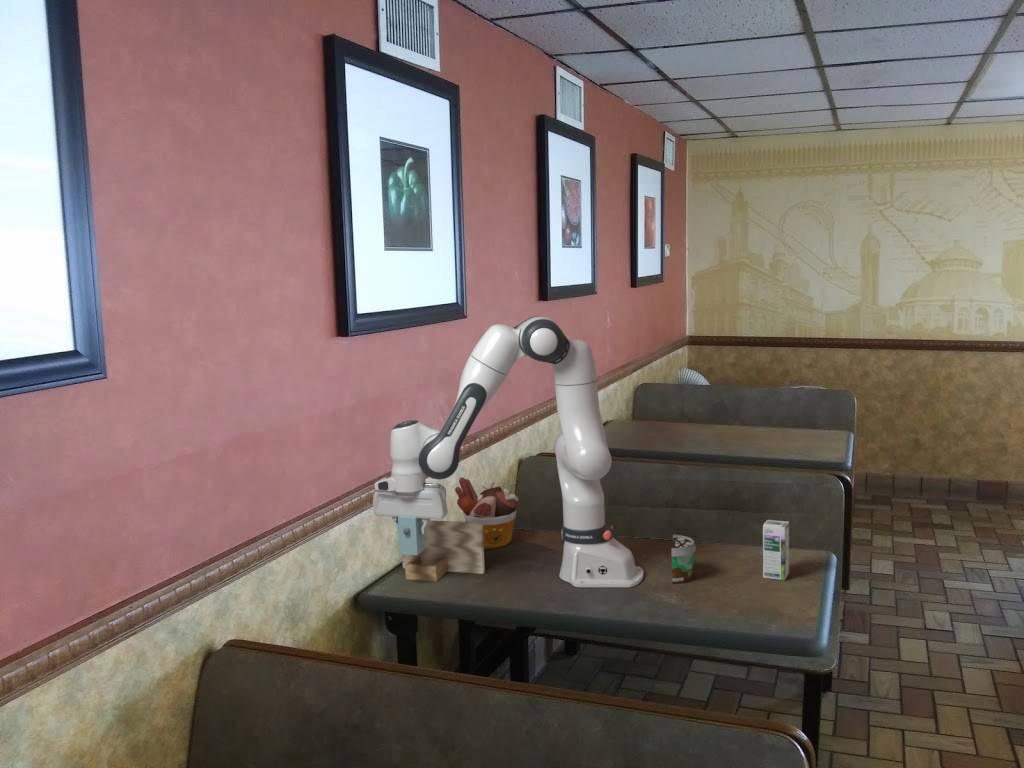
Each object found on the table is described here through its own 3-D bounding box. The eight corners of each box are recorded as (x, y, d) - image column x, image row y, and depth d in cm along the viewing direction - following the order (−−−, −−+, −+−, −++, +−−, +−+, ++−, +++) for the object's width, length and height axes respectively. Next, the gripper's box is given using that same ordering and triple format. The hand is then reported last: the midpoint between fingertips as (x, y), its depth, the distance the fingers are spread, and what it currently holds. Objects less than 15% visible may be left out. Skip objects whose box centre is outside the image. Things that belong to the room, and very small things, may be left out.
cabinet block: (424, 549, 250) (422, 513, 248) (416, 556, 244) (414, 519, 243) (407, 548, 251) (405, 512, 250) (398, 555, 246) (396, 518, 244)
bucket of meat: (531, 538, 286) (528, 475, 283) (506, 555, 271) (503, 488, 268) (474, 532, 295) (471, 470, 292) (447, 547, 280) (443, 483, 277)
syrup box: (762, 578, 244) (762, 524, 242) (767, 571, 249) (767, 518, 247) (784, 581, 241) (784, 526, 239) (789, 573, 246) (789, 520, 244)
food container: (696, 586, 240) (695, 549, 238) (672, 586, 241) (671, 548, 240) (696, 570, 252) (696, 534, 250) (673, 569, 253) (672, 534, 252)
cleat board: (484, 571, 258) (482, 522, 256) (473, 584, 249) (470, 533, 247) (405, 566, 265) (402, 518, 263) (390, 578, 256) (387, 528, 254)
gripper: (450, 480, 245) (452, 531, 247) (379, 477, 252) (382, 527, 254) (441, 486, 239) (443, 539, 241) (368, 483, 246) (371, 534, 248)
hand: (411, 533), depth 248 cm, fingers closed on cabinet block, 5 cm apart
